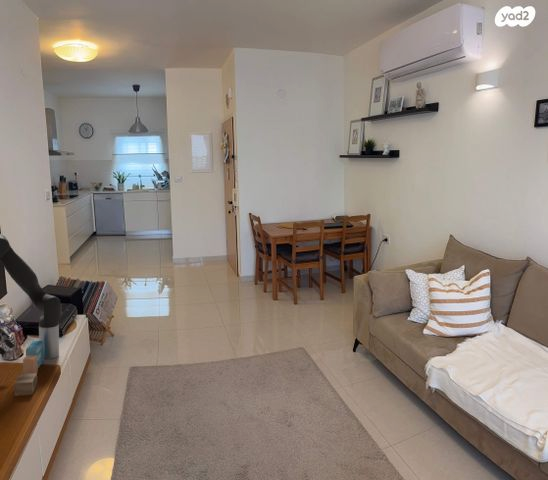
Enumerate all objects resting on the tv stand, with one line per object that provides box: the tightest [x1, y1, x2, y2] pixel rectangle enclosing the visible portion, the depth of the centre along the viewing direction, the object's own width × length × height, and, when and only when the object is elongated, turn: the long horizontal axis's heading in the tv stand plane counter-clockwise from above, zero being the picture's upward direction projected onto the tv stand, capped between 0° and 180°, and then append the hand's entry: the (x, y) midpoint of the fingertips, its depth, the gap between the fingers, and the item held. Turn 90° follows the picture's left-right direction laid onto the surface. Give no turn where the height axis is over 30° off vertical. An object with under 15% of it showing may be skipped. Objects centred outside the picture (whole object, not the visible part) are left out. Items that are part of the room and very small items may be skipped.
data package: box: [25, 340, 44, 368], centre depth 219 cm, size 12×4×12 cm, turn 13°
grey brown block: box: [13, 373, 38, 397], centre depth 196 cm, size 9×7×6 cm
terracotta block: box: [22, 355, 39, 374], centre depth 208 cm, size 5×5×10 cm
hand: (8, 350), depth 206 cm, fingers open, 8 cm apart
